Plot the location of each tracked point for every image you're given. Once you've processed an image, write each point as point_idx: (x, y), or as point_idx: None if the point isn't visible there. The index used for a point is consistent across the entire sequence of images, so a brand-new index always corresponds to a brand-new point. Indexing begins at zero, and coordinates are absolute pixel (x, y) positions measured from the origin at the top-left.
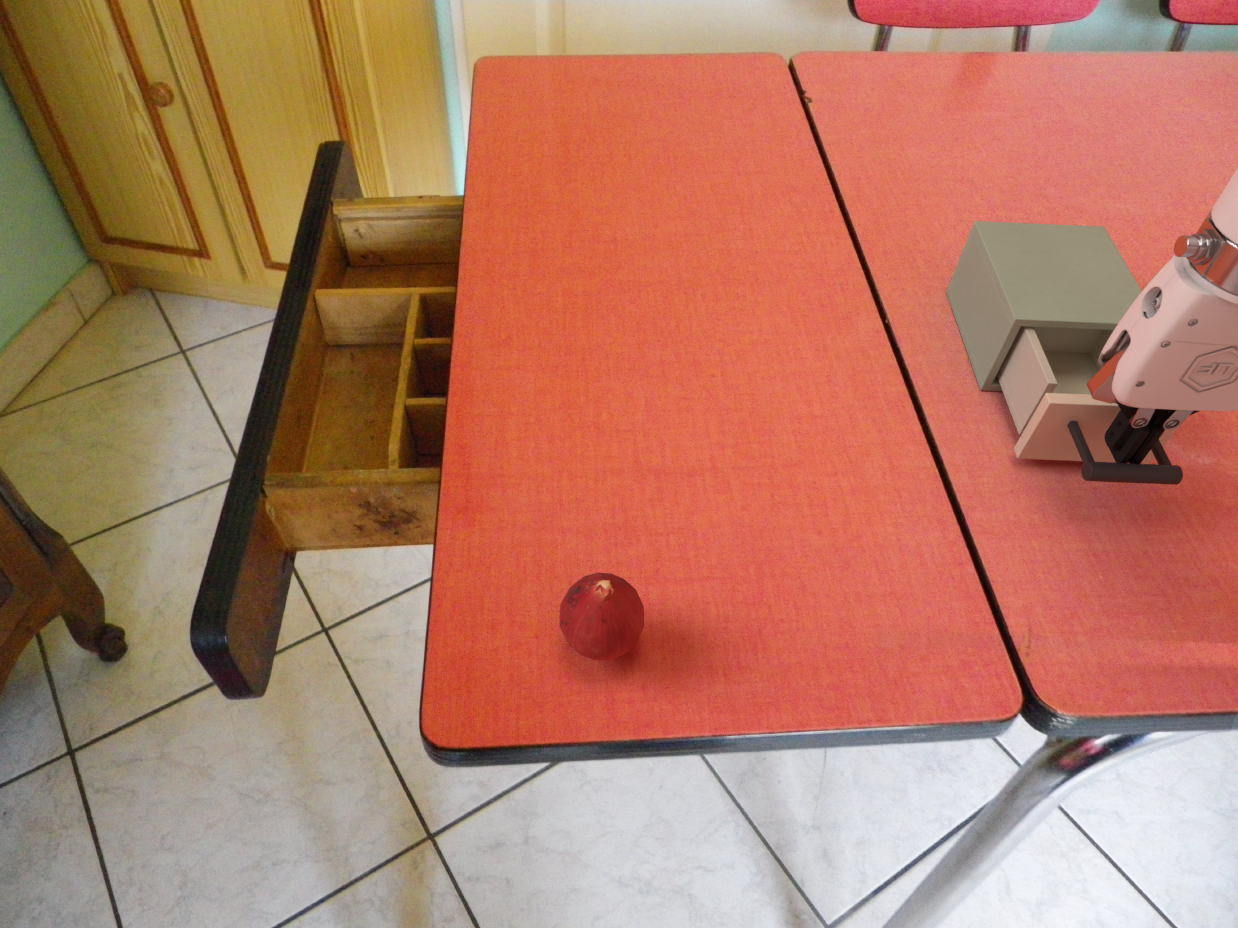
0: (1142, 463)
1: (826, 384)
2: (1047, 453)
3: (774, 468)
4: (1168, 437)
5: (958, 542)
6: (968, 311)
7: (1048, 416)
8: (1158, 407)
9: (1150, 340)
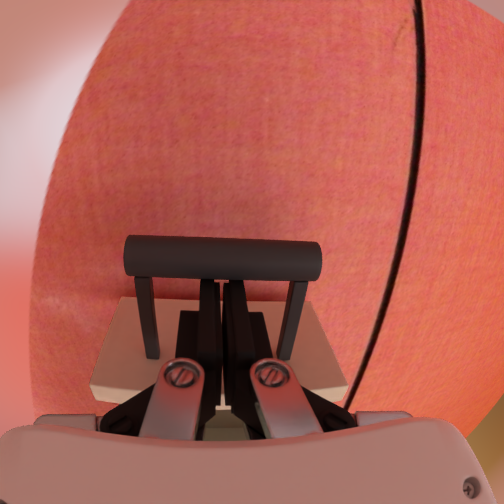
0: (131, 297)
1: (424, 363)
2: (277, 309)
3: (500, 272)
4: (109, 334)
5: (423, 176)
6: None
7: (330, 363)
8: (349, 440)
9: None
